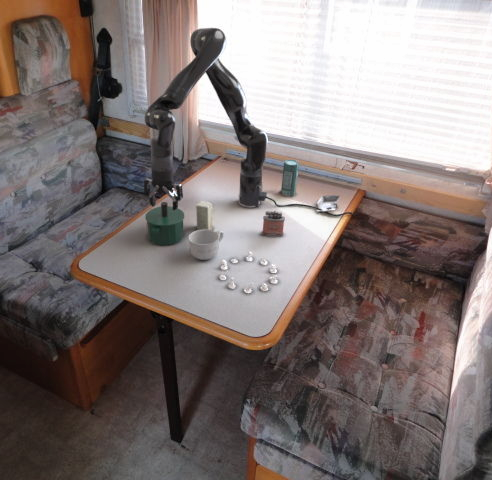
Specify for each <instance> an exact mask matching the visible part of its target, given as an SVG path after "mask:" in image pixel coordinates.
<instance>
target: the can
mask: <svg viewBox="0 0 492 480" xmlns="http://www.w3.org/2000/svg"><path fill="white" fill-rule="evenodd" d="M299 167H300V161H298V160H297V159H286V160H284V161H283V167H282V168H283V169H282V179H281V187H280V188H281V189H280V194H281V196H283V197H288V198H291V197H294V196H295V195H296V191H297V184H298V174H299Z"/></svg>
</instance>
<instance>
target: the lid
mask: <svg viewBox="0 0 492 480" xmlns="http://www.w3.org/2000/svg"><path fill="white" fill-rule="evenodd" d="M144 218H145V220H146V223H147V222H148V223H150V224H152V225H155V226H161V227H166V226H173V225H176V224H178V223H180V222H181V221H182V220H183V221H184V219H185V212H184V211H183V210H182V209H180V208H179V207H178V208H177V209H176V210H173V206H169V205H168V202H167V201H162V202H160V206H157V207H154V208H152V209H151V208H150V209H149V210H148V211H147V212H146V213H145V217H144Z"/></svg>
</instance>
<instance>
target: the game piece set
mask: <svg viewBox="0 0 492 480" xmlns="http://www.w3.org/2000/svg"><path fill="white" fill-rule="evenodd" d="M247 255H248V256H246V258H245V260H246V261H247V262H252V261H253V260H254V258H253V257H252V252H251V251H247ZM237 258H238V255H236V257H235V258H232V259H230V263H232V264H237V263H238V262H239V261H238V259H237ZM220 265H221V266H220V269H221V270H222V271H225V273H224V274H220V275H219V280H221V281H226V280H227V276H225V275H226V274H227V273H228V272H229V271H228V264H227V261H226V260H225V259H222V260H221V261H220ZM260 265H263V266H267V265H268V261H267V260H266V259H265V258H264V257H263V259H262V260H261V261H260ZM270 265H271V268H270V270H269V272H270V273H271V274H276V273H278V270H277V266H276V264H273V263H272V264H270ZM234 279H235V278H234V277H231V278H230V282H229V284H228V286H227V288H228V289H230V290H231V289H232V290H234V289H235V288H236V283H234ZM268 279H269V280H270V283H271V284H274V285H276V284H278V275H273V276H270V277H268ZM252 285H254V283H253V282H251V283H250V284H249V285H245V284H243V292H244V293H246V294H251V293H252V289H253V286H252ZM260 290H261V291H262V292H267V291H268V290H269V288H268V284H266V282H264V283H262V285H261V287H260Z"/></svg>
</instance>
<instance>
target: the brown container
mask: <svg viewBox="0 0 492 480" xmlns="http://www.w3.org/2000/svg"><path fill="white" fill-rule="evenodd" d="M262 219H263V220H262V221H263V222H262V231H261V235H262V236H265V237H270V238H271V237H272V238H281V237H283V236H284V225H285V221H286V217H285V216H283V212H282V211H277V210H273V211H271V210H265V215H264V216H263V217H262Z"/></svg>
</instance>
